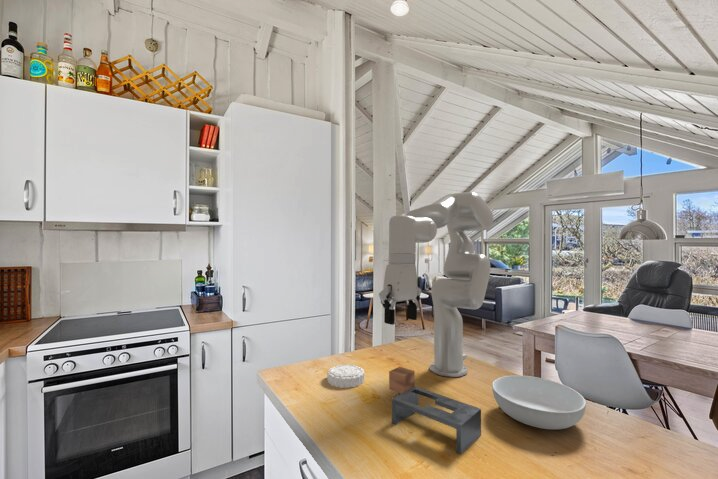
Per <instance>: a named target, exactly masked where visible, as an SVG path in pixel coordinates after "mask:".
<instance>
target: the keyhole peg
mask: <svg viewBox="0 0 718 479" xmlns="http://www.w3.org/2000/svg"><path fill="white" fill-rule="evenodd" d="M415 375H416V373H415V370H413V369H409V368H406V367H402V366H398V367H396V368H394V369H391V370H390V371H389V372H388V376H389V377H388V378H389V380H388V389H389V390H390V391H392V392H394V393H397V394H395V395H393V396H392V399H393V398H395V397H397V396H398V395H400V394H402V393H404V392H406V391H407V390H409V389H411V388H413V387H416V386H415V383H416V382H415V381H416V380H415V377H416V376H415Z"/></svg>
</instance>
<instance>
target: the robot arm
mask: <svg viewBox="0 0 718 479" xmlns="http://www.w3.org/2000/svg"><path fill="white" fill-rule="evenodd" d="M494 219H495V218H494V214H493V211H492V209H491V207H489V205H488V204H487V202H486V201H485V200H484V199H483V197H482V196H481V195H479V194H478V193H476V192H473V191H466V192H457V193H448V194H445V195H444V196H442V197H440V198H439V199H437V200H435V201H434V202H432V203H431V204H427V205H424V206H421V207H419V208H415V209H412V210H409V211H407V212H404V213H402V214H400V215H392V216H391V217H390V218H389V223H388V264H386V267H385V270H384V278H383V289H382V290H381V291H380V292H378V297H379V300H380V304H381V305H382V308H383V309H384V316H383V317H384V322H383V323H384V324H388V325H391V326H393V325H395V323H396V322H395V321H396V309H395V305H396V304H397V302H398V303H399V302H400V303H401V302H407V304H406V319H408V320H411V321H412V320H413V321H416V320H418V319H417V318H418V306H419V301H420V299H421V294H422V288H420V287H419V286H418V274H417V266H416V257H417V256H416V252H417V251H416V250H417V249H416V248H417V246H416V244H417V243H421V244H423V243H429V242H431V241H433V240H434V239H435V237H436V236H437V234H438V232H437V231H438V229H441V228H442V229H443V227H447V230H448V236H449V239H450V245H449V249H448V251H447V254H446V258H445V261H444V264H443V274H444V276H446V277H447V278H444V277H443V278H439V279H437V280H434V282H433V283H432V286H431V288H430V293H431V294H430V295H431V300H432V305H433V316H434V319H433V321H434V325H433V326H434V327H433V328H434V329H433V335H434V341H433V342H434V343H433V344H434V346H433V347H434V348H433V349H434V352H433V353H434V357H433V358H434V360H433V362H431V363H430V364H429V370H430V371H431V372H432V373H434V374H435V375H440V376H442V377H451V378H452V377H453V378H454V377H455V378H458V377H463V376H465V375H467V374H468V372H469V370H468V367H467V366H466V365H465V364H464V360H466V359H467V354H466V353H464V350H463V348H464V344H463V343H464V332H463V330H464V324H463V323H464V322H463V316H462V314H461V313H460V311H459V310H458V309H467V310H477V309H480V308H481V307H482V306H483V303H484V300H485V296H486V293H487V289H488V288H487V287H488V284H489V281H490V275H491V262H490V259H489V258H488V256H486V255H485V254H482V253H474V250H475V245H474V242H473V240H472V239H471V238H470V236H468V235H467V233H466V232H473V231H475V232H476V231H487V230H490V229H491V228H492V226H493V225H494ZM465 231H466V232H465Z"/></svg>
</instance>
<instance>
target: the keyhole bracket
mask: <svg viewBox="0 0 718 479" xmlns="http://www.w3.org/2000/svg"><path fill="white" fill-rule="evenodd" d="M419 395H420V396H422V397H425V398H427V399H430V400H433V401H434V405H435V406H439V407H441V408H444V409H447V410H450V411H452V412H448V411H446V410H443V409H441V408H437V407H435V406H432V405H430V404H427V405H425V406H424V407H423V406H420V405H419ZM415 413H416V414H419V415H420V416H424V417H426V418H428V419H430V420H433V421H434V422H435V421H436V422H438V423H439V424H443V425H446V426H448V427H450V428H453V429H455V430H456V431H455V432H456V433H455V434H456V435H455V436H456V443H455V445H456V454H458V455H462V454H464V452H466V450H467V449H469V447H471V446H472V445H473V444H474V443H475V442H476V441H477V440H478V439H479V437H481V435H482V408H481V407H480V408H479V407H478V406H474V405H470V404H468V403H465V402H462V401H460V400H456V399H453V398H450V397H448V396H444V395H441V394H440V393H439V394H438V393H436V392H433V391H430V390H426V389H423V388H421V387H418V386H415V387H413V388H411V389H409V390H407V391H406V392H404V393H402V394H400V395H398V396H397V397H395V398H393V397H392V399H391V424H392V425H394V426H396V425H397V424H400V422H402V421H404V420H406V419H407V418H409V417H410V416H412V415H413V414H415Z"/></svg>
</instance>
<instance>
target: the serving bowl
mask: <svg viewBox="0 0 718 479" xmlns="http://www.w3.org/2000/svg"><path fill="white" fill-rule="evenodd" d="M491 388H492V394H493V397H494V399H495V402H496V404H497V405H498V406H499V408H500V409H501V410H502V411H503V412H504V413H505V414H506V415H508V416H509V417H511V418H512V419H514V420H516V421H518V422H519V423H522V424H525V425H527V426H529V427H534V428H539V429H543V430H544V429H545V430H563V429H568V428H570V427H571V428H572V427H573V426H575V425H576V424H578V423H579V422H580V421H581V420H582V418H583V417H584V414H585V412H586V406H587V402H586V399H585V398H584V396H583V395H582V394H581V393H579V392H578V391H577V390H575V389H573V388H571V387H570V386H568V385H566V384H563V383H560V382H557V381H555V380H551V379H548V378H547V379H546V378H543V377H542V378H541V377H537V376H532V375H531V376H530V375H520V374H519V375H515V374H514V375H504V376H501V377H498V378H496V379H495V380H493V381H492V384H491Z"/></svg>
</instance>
